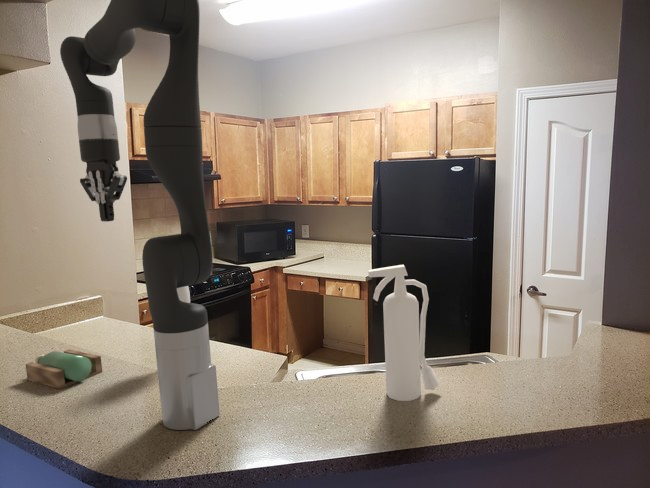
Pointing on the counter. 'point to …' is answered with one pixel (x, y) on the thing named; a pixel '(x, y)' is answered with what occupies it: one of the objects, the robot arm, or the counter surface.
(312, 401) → the counter surface
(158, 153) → the robot arm
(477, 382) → the counter surface
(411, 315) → the fire extinguisher
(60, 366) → the bottle
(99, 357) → the brown wooden u-shaped block
